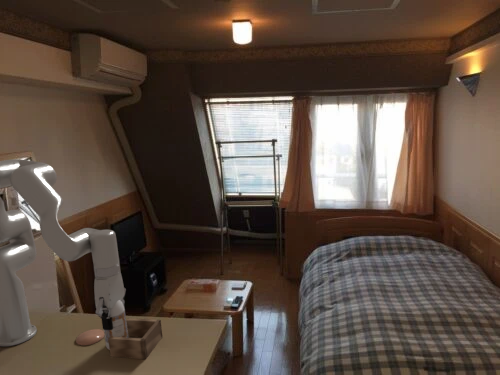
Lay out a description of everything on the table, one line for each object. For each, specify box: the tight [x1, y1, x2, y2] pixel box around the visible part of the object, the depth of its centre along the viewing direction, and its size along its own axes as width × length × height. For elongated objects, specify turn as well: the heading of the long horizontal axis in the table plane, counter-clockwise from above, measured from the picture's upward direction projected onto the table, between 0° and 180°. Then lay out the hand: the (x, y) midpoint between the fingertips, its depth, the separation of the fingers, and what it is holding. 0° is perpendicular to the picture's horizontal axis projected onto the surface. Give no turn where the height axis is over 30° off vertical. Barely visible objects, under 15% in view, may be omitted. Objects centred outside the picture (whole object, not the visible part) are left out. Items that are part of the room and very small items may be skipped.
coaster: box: [75, 328, 105, 346], centre depth 138 cm, size 9×9×1 cm
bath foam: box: [103, 300, 129, 351], centre depth 131 cm, size 7×7×20 cm
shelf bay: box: [108, 317, 163, 360], centre depth 131 cm, size 12×12×6 cm
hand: (114, 322), depth 132 cm, fingers closed on bath foam, 7 cm apart
